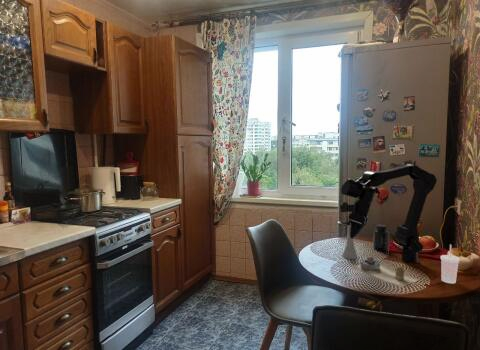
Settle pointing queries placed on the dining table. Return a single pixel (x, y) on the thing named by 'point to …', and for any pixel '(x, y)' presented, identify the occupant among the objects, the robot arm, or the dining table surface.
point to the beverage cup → (449, 268)
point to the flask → (350, 249)
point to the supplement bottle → (381, 238)
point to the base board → (389, 274)
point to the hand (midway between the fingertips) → (352, 237)
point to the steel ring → (370, 265)
